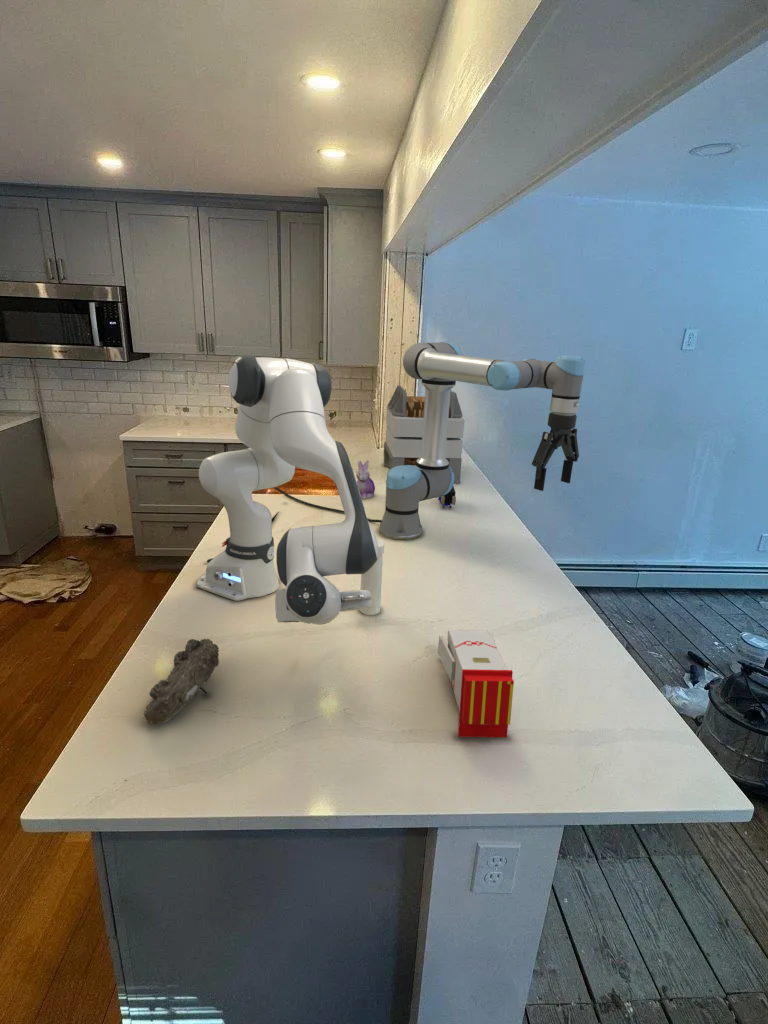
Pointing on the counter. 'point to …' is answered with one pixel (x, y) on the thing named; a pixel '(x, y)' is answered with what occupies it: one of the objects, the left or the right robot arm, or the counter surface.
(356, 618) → the counter surface
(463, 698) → the toy
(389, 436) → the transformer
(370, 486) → the figurine
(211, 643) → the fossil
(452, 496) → the figurine character
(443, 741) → the counter surface
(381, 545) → the white cylinder
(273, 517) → the feather
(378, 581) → the jar
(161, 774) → the counter surface
